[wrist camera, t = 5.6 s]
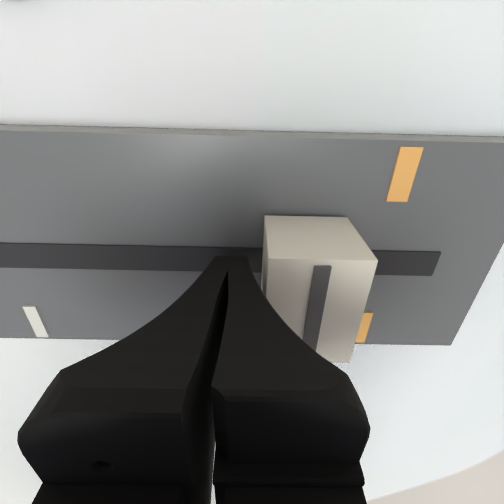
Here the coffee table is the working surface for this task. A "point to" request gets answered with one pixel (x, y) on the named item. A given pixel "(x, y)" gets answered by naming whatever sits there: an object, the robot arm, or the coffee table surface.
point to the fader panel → (236, 220)
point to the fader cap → (318, 279)
